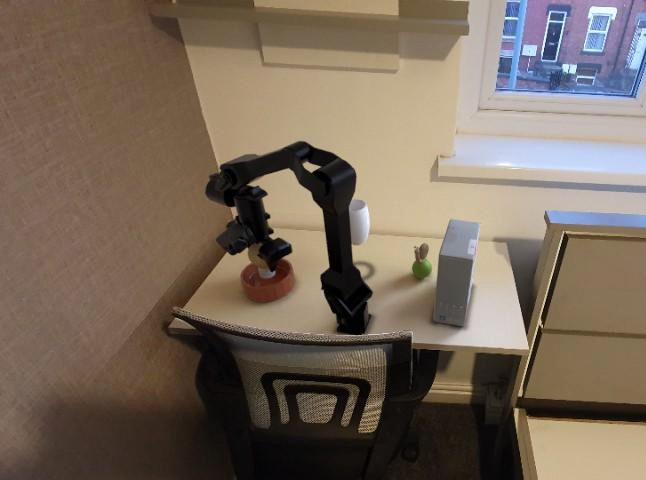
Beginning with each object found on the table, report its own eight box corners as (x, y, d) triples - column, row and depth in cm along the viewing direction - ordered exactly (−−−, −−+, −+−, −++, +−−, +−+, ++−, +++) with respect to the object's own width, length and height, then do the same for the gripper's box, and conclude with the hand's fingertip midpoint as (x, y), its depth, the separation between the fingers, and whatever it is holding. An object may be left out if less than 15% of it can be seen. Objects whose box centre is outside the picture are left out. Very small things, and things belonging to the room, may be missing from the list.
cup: (340, 275, 106) (333, 209, 94) (353, 260, 112) (347, 195, 100) (365, 281, 104) (360, 214, 93) (376, 265, 110) (373, 200, 98)
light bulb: (270, 286, 96) (262, 253, 90) (248, 280, 97) (239, 247, 92) (286, 270, 101) (279, 238, 95) (265, 265, 102) (257, 233, 97)
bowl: (303, 275, 106) (300, 260, 103) (281, 306, 96) (278, 291, 93) (260, 268, 107) (256, 254, 104) (235, 299, 97) (230, 284, 94)
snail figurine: (406, 280, 106) (406, 243, 99) (417, 267, 110) (418, 231, 103) (423, 287, 104) (425, 250, 97) (435, 273, 108) (437, 237, 102)
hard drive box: (464, 328, 93) (473, 261, 81) (432, 322, 94) (436, 255, 82) (472, 285, 105) (480, 222, 94) (444, 280, 106) (449, 217, 95)
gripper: (195, 210, 88) (214, 265, 97) (239, 243, 79) (256, 300, 88) (242, 193, 95) (256, 245, 104) (287, 221, 86) (299, 276, 95)
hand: (265, 266), depth 97 cm, fingers closed on light bulb, 6 cm apart
